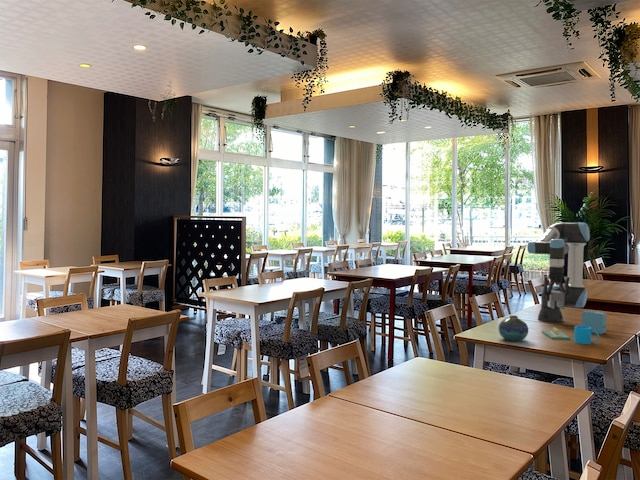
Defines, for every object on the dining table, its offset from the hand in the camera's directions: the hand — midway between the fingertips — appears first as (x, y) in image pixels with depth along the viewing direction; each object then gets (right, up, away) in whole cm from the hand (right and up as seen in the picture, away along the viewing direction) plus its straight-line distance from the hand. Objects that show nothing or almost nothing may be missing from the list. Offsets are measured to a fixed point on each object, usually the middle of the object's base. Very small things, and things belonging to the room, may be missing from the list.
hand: (555, 306), depth 282 cm
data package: (+27, -17, +11) cm, 34 cm away
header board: (0, -17, +1) cm, 17 cm away
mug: (+10, -18, -14) cm, 25 cm away
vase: (-28, -17, -10) cm, 34 cm away
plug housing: (0, 0, 0) cm, 0 cm away
